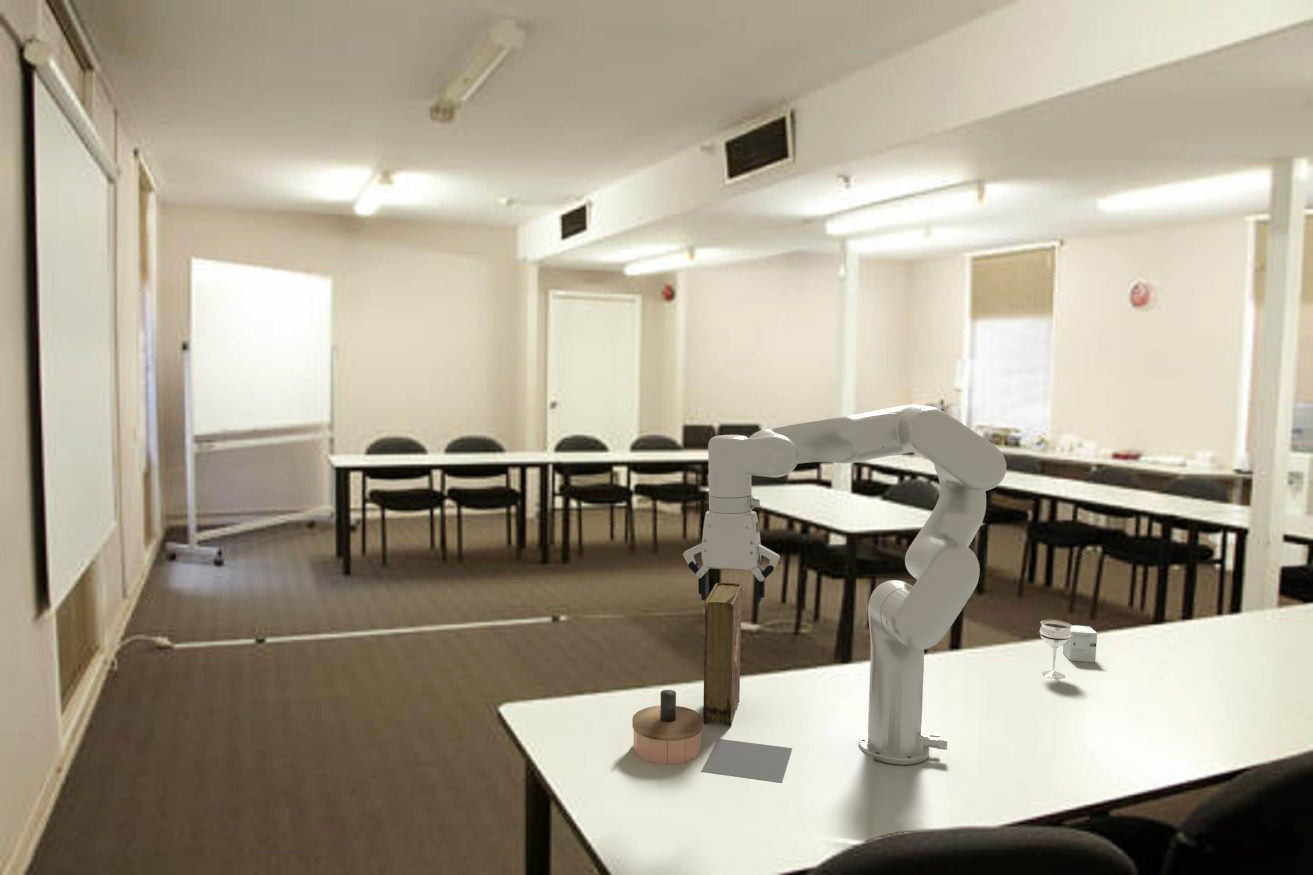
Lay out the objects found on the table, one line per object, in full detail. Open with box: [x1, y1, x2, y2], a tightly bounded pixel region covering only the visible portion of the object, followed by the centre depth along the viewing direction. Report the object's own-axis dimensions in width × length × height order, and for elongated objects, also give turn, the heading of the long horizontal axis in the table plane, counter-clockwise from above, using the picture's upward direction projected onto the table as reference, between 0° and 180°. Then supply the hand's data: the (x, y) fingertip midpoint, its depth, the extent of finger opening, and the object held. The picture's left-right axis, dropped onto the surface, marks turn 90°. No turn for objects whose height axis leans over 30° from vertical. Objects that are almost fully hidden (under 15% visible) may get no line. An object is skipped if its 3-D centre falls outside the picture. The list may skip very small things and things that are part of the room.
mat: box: [700, 738, 793, 784], centre depth 159 cm, size 14×14×1 cm
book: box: [702, 582, 743, 727], centre depth 180 cm, size 16×6×25 cm, turn 168°
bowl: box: [633, 729, 702, 765], centre depth 163 cm, size 12×12×5 cm
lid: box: [631, 689, 704, 741], centre depth 162 cm, size 13×13×6 cm
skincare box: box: [1062, 624, 1098, 663], centre depth 218 cm, size 6×6×7 cm
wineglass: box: [1039, 619, 1072, 679], centre depth 205 cm, size 7×7×12 cm
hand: (731, 599), depth 158 cm, fingers open, 9 cm apart
